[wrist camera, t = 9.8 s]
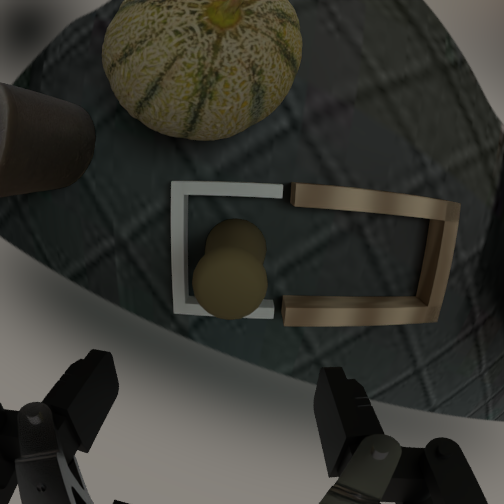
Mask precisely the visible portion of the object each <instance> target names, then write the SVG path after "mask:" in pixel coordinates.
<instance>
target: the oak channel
mask: <svg viewBox="0 0 504 504" xmlns="http://www.w3.org/2000/svg"><path fill="white" fill-rule="evenodd" d="M290 203H291V204H292V205H293V206H295V207H309V208H323V209H336V210H349V211H360V212H371V213H381V214H391V215H401V216H410V217H419V218H428V219H430V222H429V229H428V236H427V242H426V248H425V254H424V260H423V265H422V270H421V275H420V280H419V284H418V289H417V293H416V296H397V297H344V296H292V295H283V300H282V310H281V313H282V318H283V323H284V326H373V325H397V324H414V323H429V322H437V320H438V316H439V313H440V309H441V305H442V302H443V298H444V294H445V290H446V286H447V281H448V277H449V273H450V268H451V263H452V258H453V253H454V247H455V241H456V235H457V229H458V222H459V214H460V206H461V204H460V203H456V202H451V201H447V200H441V199H435V198H429V197H422V196H416V195H409V194H402V193H394V192H387V191H379V190H370V189H362V188H353V187H343V186H333V185H322V184H310V183H297V182H291V198H290Z"/></svg>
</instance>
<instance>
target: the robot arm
mask: <svg viewBox="0 0 504 504" xmlns="http://www.w3.org/2000/svg"><path fill="white" fill-rule="evenodd" d="M118 390H119V383H118V378H117V374H116V370H115V366H114V361H113V357H112V354H111V353H110V352H106V351H101V350H96V349H92V350H91V351H90V352H89V353H88V355H87V356H86V357H85V359H80V360H78V361H76V362H75V363H73V364H71V365H70V367H69V368H68V369H67V370H66V371H65V374H63V375H62V377H61V378H60V380H59V381H58V382H57V383H56V384H55V385H54V387H53V388H52V389H51V390H50V392H49V393H48V394H47V396H46V397H45V398H44V400H43V401H42V402H32V403H28V404H26V405H25V406H23V407H22V408H21V409H20V411H14V410H5V409H3V407H2V405H1V403H0V504H8V503H9V501H10V499H11V497H12V495H13V493H14V490H15V488H16V486H17V484H18V486H19V492H20V497H21V501H22V504H94V503H93V501H92V500H91V498H90V496H89V494H88V491H87V488H86V486H85V483H84V480H83V478H82V475H81V472H80V469H79V466H78V463H77V460H76V457H75V456H74V455H75V453H76V451H77V450H79V451H82V452H85V453H88V452H89V450H90V448H91V446H92V444H93V442H94V440H95V438H96V436H97V434H98V432H99V430H100V428H101V426H102V424H103V422H104V420H105V418H106V416H107V414H108V413H109V411H110V409H111V407H112V405H113V403H114V401H115V399H116V397H117V395H118ZM314 413H315V418H316V422H317V427H318V431H319V435H320V439H321V444H322V449H323V453H324V457H325V462H326V466H327V471H328V476H329V478H330V477H339V478H338V480H337V482H336V483H335V484H334V486H332V487H331V488H330V489H329V491H328V492H327V493H326V495H325V496H324V498H323V499H322V500H321V502H320V503H319V504H381V503H380V502H395V503H396V504H488V503H487V501H486V499H485V497H484V494H483V492H482V490H481V488H480V486H479V484H478V482H477V480H476V478H475V476H474V474H473V471H472V470H471V467H470V466H469V464H468V462H467V460H466V458H465V456H464V454H463V452H462V450H461V448H460V447H459V445H458V444H457V443H456V442H454V441H453V440H451V439H448V438H443V437H442V438H435V439H433V440H431V441H430V442H429V443H428V444H427V445H426V447H425V448H411V447H402V446H400V444H399V443H398V441H396V440H395V439H394V438H392V437H391V436H388V435H385V434H384V432H383V429H382V427H381V425H380V423H379V420H378V418H377V416H376V414H375V412H374V409H373V407H372V406H371V403H370V400H369V398H368V396H367V394H366V392H365V390H364V387H363V386H362V385H361V384H359V383H358V382H357V381H356V380H355V379H347V378H346V376H345V373H344V371H343V369H342V367H322V368H321V370H320V373H319V378H318V383H317V387H316V392H315V396H314ZM113 504H128V503H125V502H121V501H117V500H114V502H113Z"/></svg>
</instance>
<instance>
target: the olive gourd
mask: <svg viewBox="0 0 504 504" xmlns="http://www.w3.org/2000/svg"><path fill="white" fill-rule="evenodd" d="M266 250H267V249H266V241H265V238H264V236H263V234H262V232H261V231H260V230H259V229H258V228H257V227H256V226H255V225H254V224H252V223H250V222H248V221H247V220H242V219H237V218H236V219H228V220H225V221H223V222H221V223H219V224H217V225H216V226H215V227H214V228H213V229H212V230H211V232H210V233H209V235H208V237H207V240H206V246H205V255H204V256H203V257H202V258H201V259H200V261H199V262H198V264H197V266H196V268H195V270H194V272H193V280H192V285H193V290H194V295H195V298H196V299H197V301H198V303H199V305H200V306H201V307H202V308H203V309H204V310H205V311H207V312H208V313H209V314H211V315H213V316H215V317H217V318H222V319H227V320H232V319H240V318H243V317H245V316H248V315H250V314H251V313H252V312H254V311H255V310H256V309H257V308H258V307H259V306H260V304H261V302H262V301H263V299H264V297H265V295H266V291H267V286H268V284H267V275H266V271H265V269H264V267H263V263H264V259H265V255H266Z"/></svg>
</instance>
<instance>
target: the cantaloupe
mask: <svg viewBox="0 0 504 504" xmlns="http://www.w3.org/2000/svg"><path fill="white" fill-rule="evenodd" d="M102 57H103V59H102V63H103V68H104V70H105V74H106V76H107V78H108V79H109V82H110V84H111V88H112V90H113V92H114V94H115V96H116V98H117V99H118V100H119V103H120V104H121V105H122V106H123V107H124V108H125V109H126V110H127V111H128V113H129V114H130V115H131V116H132V117H134V118H137V119H138V120H139V121H141V122H142V123H143V124H144V125H146V126H147V127H148V128H150V129H153V130H154V131H158V132H159V133H161V134H165V135H168V136H173V137H179V138H188V139H190V140H203V141H207V140H212V141H213V140H218V139H223V138H229V137H231V136H233V135H235V134H237V133H239V132H243V131H244V130H245V129H247V128H248V127H250V126H252V125H254V124H256V123H257V122H259V121H261V120H263V119H264V118H265V117H267V116H268V115H270V114H271V113H272V112H273V111H274V110H275V109H276V108H277V107H278V106H279V105H280V104H281V102H282V101H283V99H284V98H285V96H286V95H287V94H288V92H289V90H290V88H291V86H292V83H293V81H294V78H295V76H296V74H297V71H298V69H299V66H300V62H301V57H302V37H301V34H300V26H299V21H298V17H297V15H296V12H295V10H294V8H293V6H292V5H291V4H290V2H289V1H288V0H124V1H123V3H122V4H121V6H120V8H119V11H118V12H117V14H116V15H115V17H114V19H113V20H112V22H111V23H110V25H109V26H108V28H107V33H106V35H105V39H104V43H103V46H102Z"/></svg>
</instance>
